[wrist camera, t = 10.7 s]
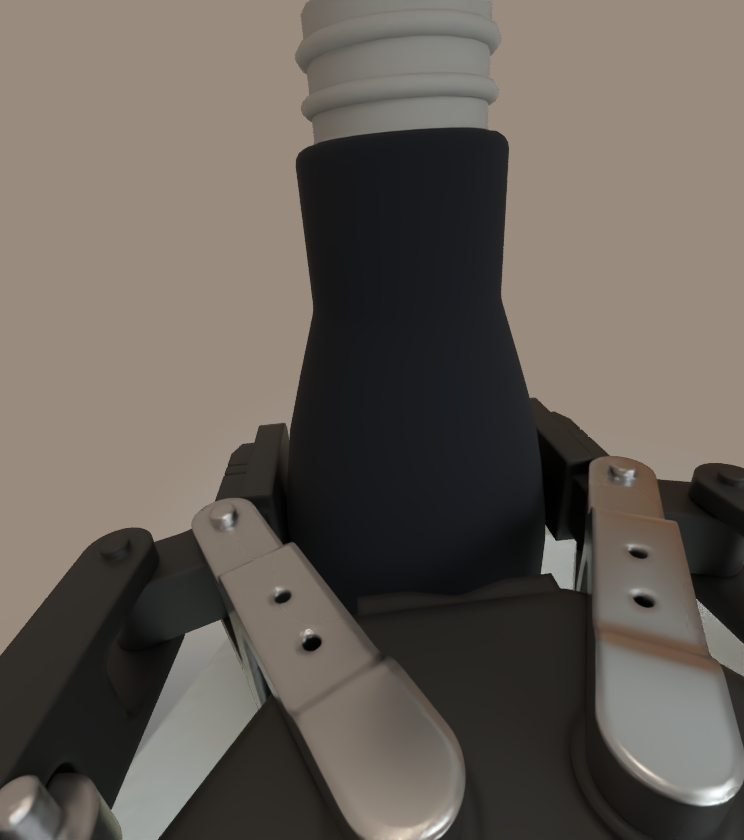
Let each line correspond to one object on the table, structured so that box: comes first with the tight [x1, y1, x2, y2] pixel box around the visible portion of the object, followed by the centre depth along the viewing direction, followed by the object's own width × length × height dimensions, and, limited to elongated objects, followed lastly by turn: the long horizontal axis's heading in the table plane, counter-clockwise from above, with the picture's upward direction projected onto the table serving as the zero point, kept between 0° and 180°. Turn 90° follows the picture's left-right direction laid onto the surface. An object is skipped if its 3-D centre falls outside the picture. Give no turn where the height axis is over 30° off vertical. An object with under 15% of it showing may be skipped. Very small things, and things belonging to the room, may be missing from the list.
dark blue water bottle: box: [287, 0, 545, 615], centre depth 11 cm, size 6×6×30 cm
